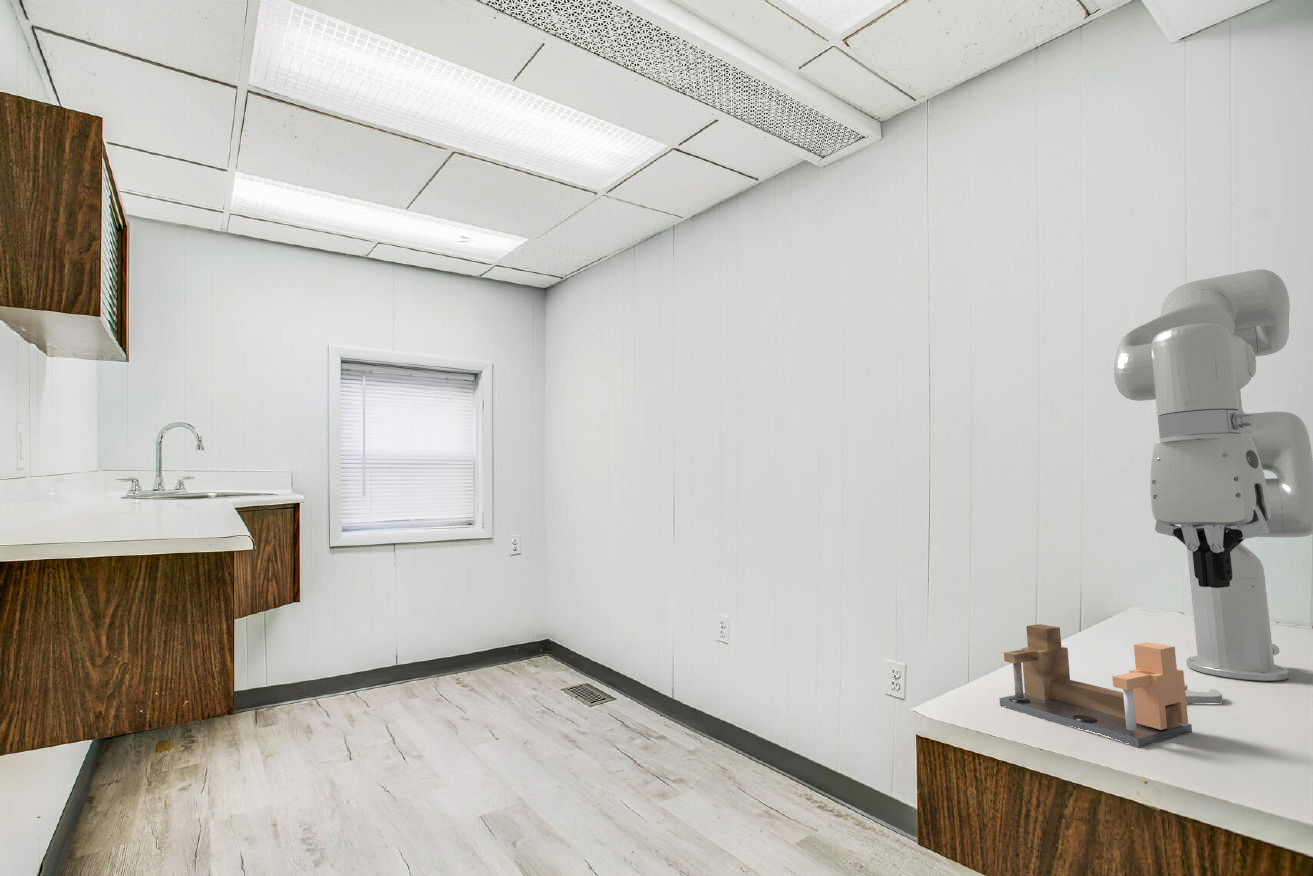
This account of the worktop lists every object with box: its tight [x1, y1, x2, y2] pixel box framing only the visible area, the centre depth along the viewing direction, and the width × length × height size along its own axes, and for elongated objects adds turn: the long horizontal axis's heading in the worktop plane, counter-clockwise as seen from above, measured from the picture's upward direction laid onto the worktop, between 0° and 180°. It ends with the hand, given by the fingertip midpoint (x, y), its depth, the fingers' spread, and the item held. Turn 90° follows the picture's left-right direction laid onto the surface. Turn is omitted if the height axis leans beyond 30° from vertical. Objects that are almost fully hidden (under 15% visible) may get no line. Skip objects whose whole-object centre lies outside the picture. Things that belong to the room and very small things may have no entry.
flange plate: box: [998, 692, 1193, 749], centre depth 86 cm, size 11×18×1 cm, turn 25°
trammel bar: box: [1003, 623, 1179, 730], centre depth 86 cm, size 10×18×10 cm, turn 25°
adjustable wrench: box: [1185, 684, 1223, 704], centre depth 92 cm, size 25×6×2 cm, turn 105°
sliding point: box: [1111, 641, 1189, 731], centre depth 80 cm, size 10×3×9 cm, turn 115°
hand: (1214, 586), depth 75 cm, fingers closed
